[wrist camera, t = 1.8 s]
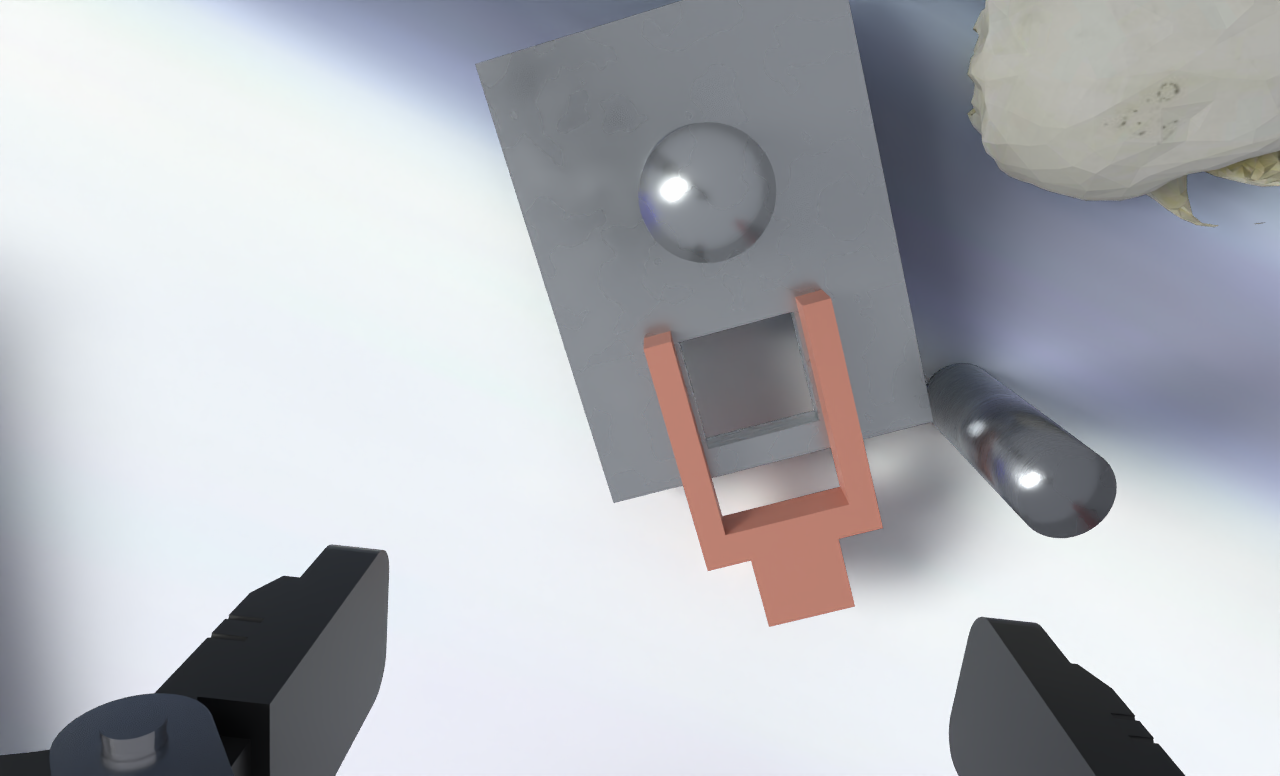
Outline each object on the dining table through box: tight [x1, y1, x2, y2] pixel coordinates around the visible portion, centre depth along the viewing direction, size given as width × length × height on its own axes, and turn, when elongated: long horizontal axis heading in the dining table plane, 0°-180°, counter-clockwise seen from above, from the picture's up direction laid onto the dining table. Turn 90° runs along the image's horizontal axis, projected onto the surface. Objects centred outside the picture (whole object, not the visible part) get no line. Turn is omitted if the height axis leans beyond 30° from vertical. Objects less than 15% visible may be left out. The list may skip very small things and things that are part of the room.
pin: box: [926, 363, 1116, 538], centre depth 38 cm, size 4×4×12 cm
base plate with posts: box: [475, 0, 933, 503], centre depth 37 cm, size 20×15×11 cm
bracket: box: [644, 290, 883, 627], centre depth 42 cm, size 14×8×6 cm, turn 16°
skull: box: [967, 0, 1280, 227], centre depth 35 cm, size 14×24×10 cm, turn 92°
